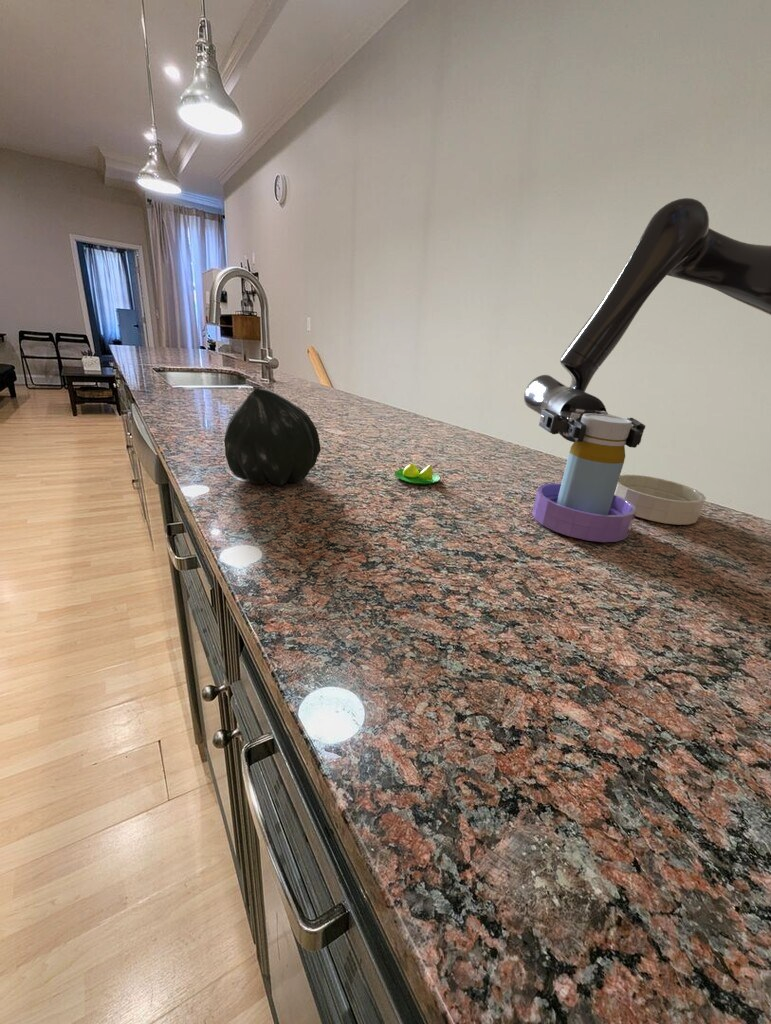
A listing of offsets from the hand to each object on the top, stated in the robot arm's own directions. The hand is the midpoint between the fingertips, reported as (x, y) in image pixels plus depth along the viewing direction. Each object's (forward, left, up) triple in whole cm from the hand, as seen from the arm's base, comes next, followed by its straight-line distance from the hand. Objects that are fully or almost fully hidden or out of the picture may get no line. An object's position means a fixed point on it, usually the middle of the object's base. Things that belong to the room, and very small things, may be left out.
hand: (609, 436), depth 58 cm
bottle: (-2, -1, -13) cm, 13 cm away
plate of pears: (+2, -28, -14) cm, 32 cm away
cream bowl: (-19, +5, -13) cm, 24 cm away
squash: (+22, -42, -14) cm, 50 cm away
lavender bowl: (-2, -1, -13) cm, 14 cm away
